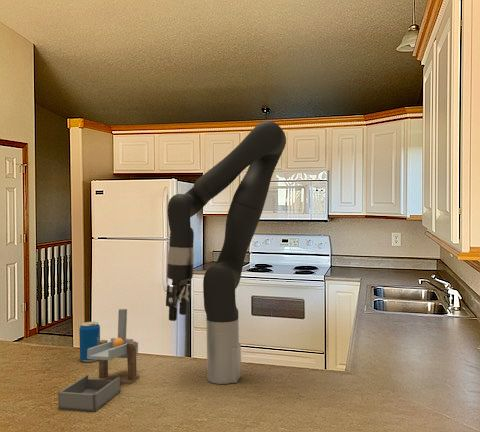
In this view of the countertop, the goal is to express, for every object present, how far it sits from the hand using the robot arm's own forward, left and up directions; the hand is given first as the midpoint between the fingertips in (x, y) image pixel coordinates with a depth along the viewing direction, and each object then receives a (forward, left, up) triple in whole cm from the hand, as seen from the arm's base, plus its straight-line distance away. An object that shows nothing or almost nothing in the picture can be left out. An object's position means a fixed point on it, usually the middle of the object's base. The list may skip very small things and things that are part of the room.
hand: (178, 317), depth 140 cm
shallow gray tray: (+17, +21, -17) cm, 32 cm away
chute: (+17, +8, -11) cm, 22 cm away
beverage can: (+35, -10, -18) cm, 40 cm away
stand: (+17, +6, -17) cm, 25 cm away
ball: (+17, +5, -7) cm, 19 cm away
